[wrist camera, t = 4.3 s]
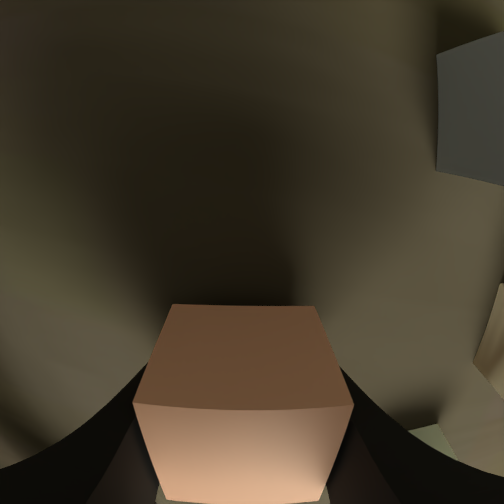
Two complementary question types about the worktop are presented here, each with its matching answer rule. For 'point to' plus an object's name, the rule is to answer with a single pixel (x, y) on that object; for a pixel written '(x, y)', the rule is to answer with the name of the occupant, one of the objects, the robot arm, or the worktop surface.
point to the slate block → (472, 110)
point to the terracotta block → (243, 405)
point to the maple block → (493, 346)
